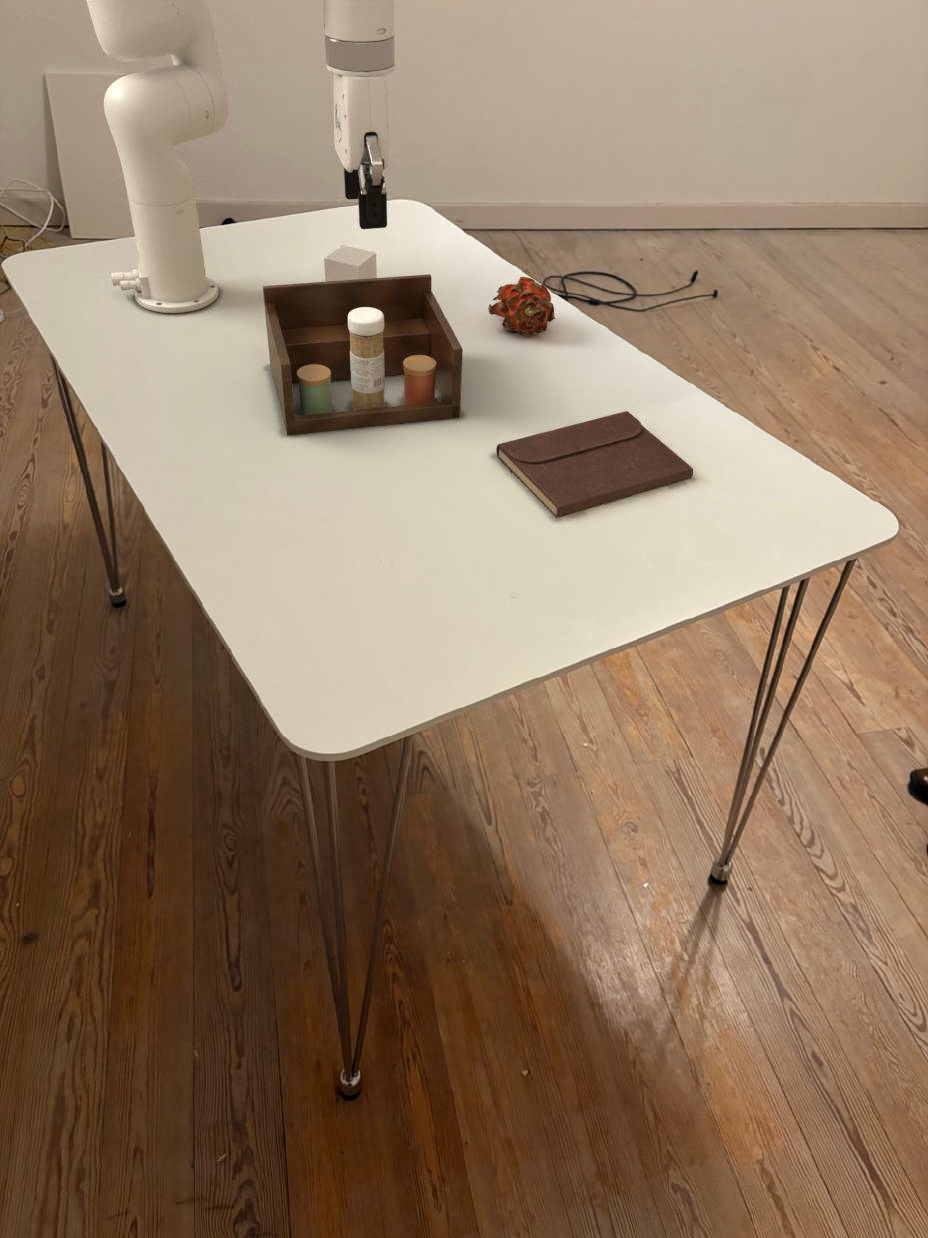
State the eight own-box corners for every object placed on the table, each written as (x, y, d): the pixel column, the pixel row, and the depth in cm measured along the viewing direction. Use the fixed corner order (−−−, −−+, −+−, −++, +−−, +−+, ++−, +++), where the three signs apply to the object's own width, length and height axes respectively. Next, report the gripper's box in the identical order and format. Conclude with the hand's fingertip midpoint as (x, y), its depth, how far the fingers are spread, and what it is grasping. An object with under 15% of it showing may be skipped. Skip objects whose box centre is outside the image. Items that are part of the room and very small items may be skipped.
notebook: (692, 480, 126) (695, 466, 125) (557, 519, 119) (559, 506, 118) (623, 421, 136) (625, 408, 135) (495, 455, 129) (496, 441, 127)
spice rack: (287, 435, 130) (279, 349, 122) (270, 367, 143) (262, 285, 135) (459, 417, 135) (463, 333, 127) (428, 353, 148) (430, 273, 140)
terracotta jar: (406, 412, 136) (407, 372, 132) (400, 396, 139) (399, 356, 135) (438, 409, 137) (439, 369, 132) (431, 393, 140) (432, 353, 136)
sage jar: (302, 423, 133) (299, 382, 129) (297, 406, 136) (294, 365, 132) (335, 419, 134) (333, 378, 130) (330, 402, 137) (328, 362, 133)
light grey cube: (326, 295, 161) (323, 258, 157) (344, 281, 165) (342, 244, 161) (359, 303, 159) (358, 265, 155) (377, 288, 163) (376, 252, 159)
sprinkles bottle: (372, 395, 138) (370, 302, 129) (392, 409, 136) (391, 315, 127) (344, 405, 136) (340, 311, 127) (364, 420, 134) (361, 325, 125)
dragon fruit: (539, 358, 151) (497, 335, 160) (578, 316, 151) (534, 296, 160) (511, 319, 146) (469, 298, 154) (551, 275, 145) (507, 256, 154)
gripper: (314, 35, 116) (323, 189, 127) (339, 75, 103) (347, 242, 115) (378, 33, 117) (382, 185, 129) (410, 73, 105) (411, 237, 116)
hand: (365, 212), depth 122 cm, fingers open, 9 cm apart
